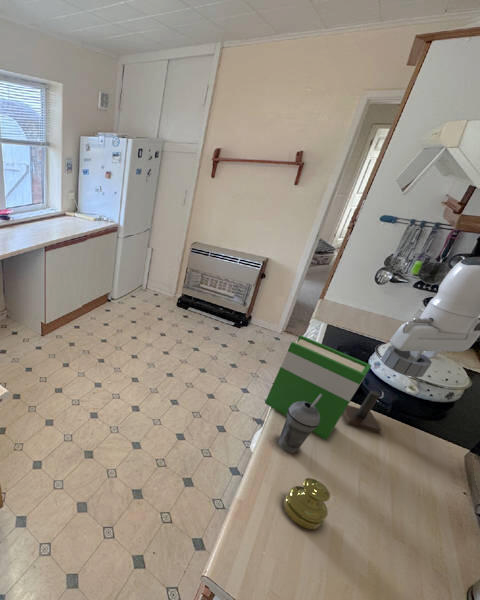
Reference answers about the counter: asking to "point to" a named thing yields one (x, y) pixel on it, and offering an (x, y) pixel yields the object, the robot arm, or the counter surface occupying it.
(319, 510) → the brass knobbed weight
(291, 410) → the beverage cup
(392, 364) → the grey faceted ring
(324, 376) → the hardback book
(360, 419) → the peg stand
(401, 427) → the counter surface
